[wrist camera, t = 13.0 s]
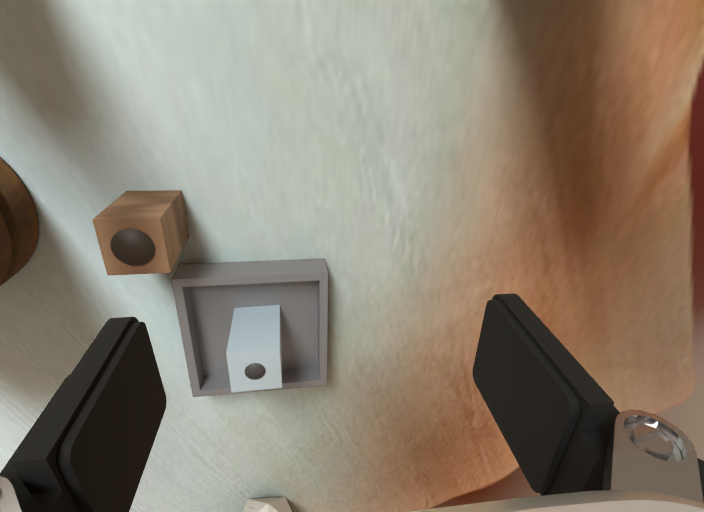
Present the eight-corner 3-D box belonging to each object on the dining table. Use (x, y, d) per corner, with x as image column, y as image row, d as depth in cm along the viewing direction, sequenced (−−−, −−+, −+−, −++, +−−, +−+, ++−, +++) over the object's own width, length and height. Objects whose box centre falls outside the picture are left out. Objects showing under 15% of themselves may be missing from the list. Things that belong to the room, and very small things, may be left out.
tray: (324, 258, 40) (328, 272, 37) (324, 366, 46) (326, 384, 44) (178, 264, 38) (171, 279, 35) (198, 376, 44) (193, 397, 41)
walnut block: (181, 190, 35) (159, 218, 29) (188, 237, 37) (170, 273, 31) (126, 191, 34) (92, 220, 28) (136, 238, 36) (106, 275, 30)
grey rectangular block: (279, 305, 41) (279, 349, 34) (281, 340, 43) (282, 388, 36) (234, 307, 40) (225, 353, 34) (238, 343, 42) (231, 393, 36)
